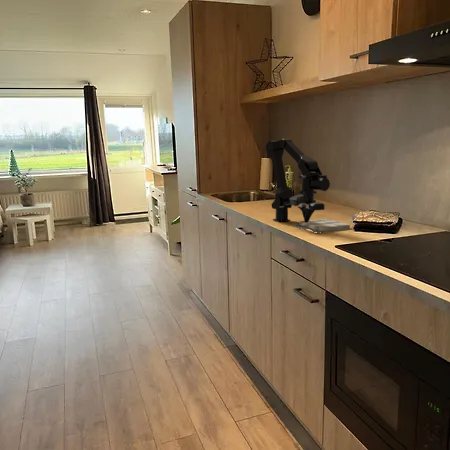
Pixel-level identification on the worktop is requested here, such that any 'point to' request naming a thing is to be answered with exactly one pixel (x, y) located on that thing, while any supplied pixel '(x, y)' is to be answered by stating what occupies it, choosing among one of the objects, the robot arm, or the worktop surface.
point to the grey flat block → (336, 223)
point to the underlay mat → (317, 230)
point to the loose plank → (319, 225)
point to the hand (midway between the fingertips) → (306, 222)
